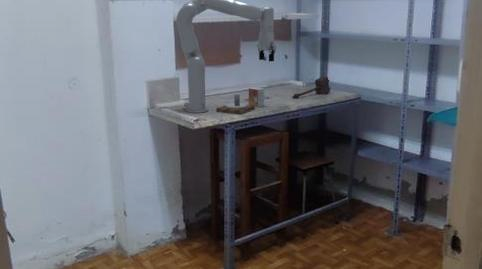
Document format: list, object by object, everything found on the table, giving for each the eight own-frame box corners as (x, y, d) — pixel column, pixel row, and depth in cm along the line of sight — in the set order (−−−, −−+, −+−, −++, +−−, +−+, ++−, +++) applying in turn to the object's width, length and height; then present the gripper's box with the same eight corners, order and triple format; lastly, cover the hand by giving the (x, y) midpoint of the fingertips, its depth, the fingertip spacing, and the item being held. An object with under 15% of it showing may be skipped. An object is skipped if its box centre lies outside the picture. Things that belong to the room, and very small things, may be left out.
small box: (248, 105, 298) (248, 88, 296) (254, 104, 302) (254, 87, 299) (258, 107, 293) (258, 89, 290) (264, 106, 296) (264, 88, 294)
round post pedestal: (221, 107, 281) (221, 94, 279) (231, 104, 291) (231, 91, 289) (239, 109, 276) (239, 96, 274) (250, 105, 286) (249, 92, 284)
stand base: (216, 111, 281) (216, 107, 280) (230, 106, 294) (230, 103, 294) (241, 114, 273) (241, 110, 273) (254, 109, 287) (254, 105, 286)
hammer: (331, 91, 336) (329, 77, 333) (297, 107, 318) (296, 92, 315) (323, 90, 341) (322, 76, 338) (290, 105, 323) (288, 90, 320)
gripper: (252, 29, 283) (252, 59, 288) (270, 30, 269) (269, 62, 273) (263, 29, 287) (263, 58, 291) (281, 30, 273) (280, 61, 277)
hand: (266, 60), depth 282 cm, fingers open, 9 cm apart
